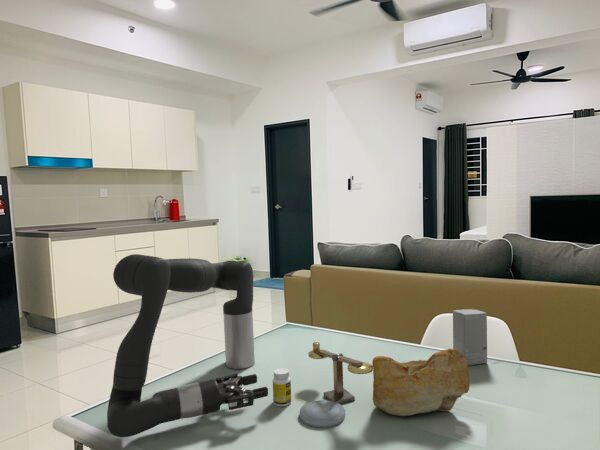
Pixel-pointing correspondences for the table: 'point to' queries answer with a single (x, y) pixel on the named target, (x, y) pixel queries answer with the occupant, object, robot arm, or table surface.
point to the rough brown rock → (420, 383)
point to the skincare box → (470, 335)
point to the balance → (340, 372)
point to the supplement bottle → (281, 387)
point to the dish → (322, 413)
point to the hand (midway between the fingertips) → (261, 384)
